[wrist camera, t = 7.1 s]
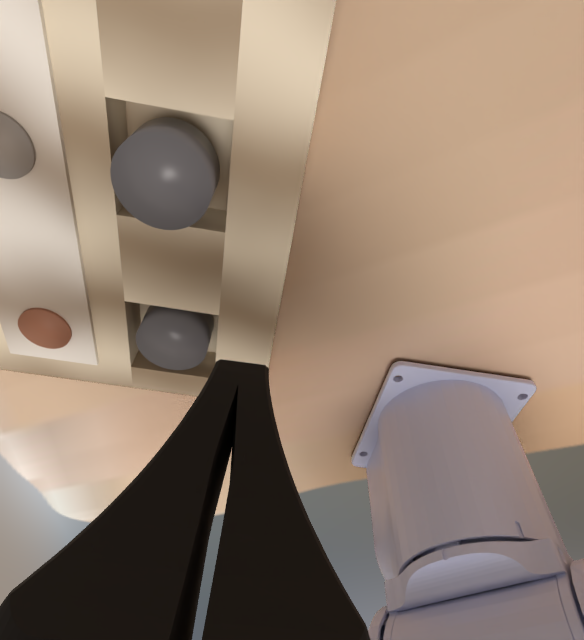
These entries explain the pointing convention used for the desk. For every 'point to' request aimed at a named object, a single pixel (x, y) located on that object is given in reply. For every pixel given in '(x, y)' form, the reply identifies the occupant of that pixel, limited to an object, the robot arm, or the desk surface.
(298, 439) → the desk surface
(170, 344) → the button
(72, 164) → the button board
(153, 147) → the middle button
